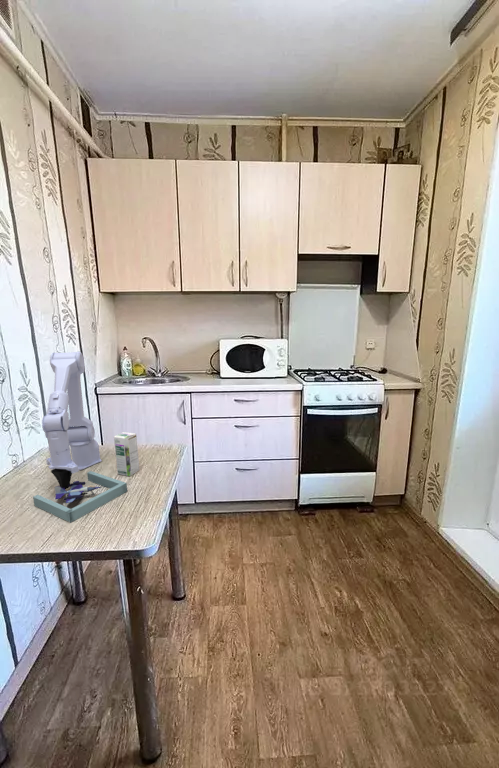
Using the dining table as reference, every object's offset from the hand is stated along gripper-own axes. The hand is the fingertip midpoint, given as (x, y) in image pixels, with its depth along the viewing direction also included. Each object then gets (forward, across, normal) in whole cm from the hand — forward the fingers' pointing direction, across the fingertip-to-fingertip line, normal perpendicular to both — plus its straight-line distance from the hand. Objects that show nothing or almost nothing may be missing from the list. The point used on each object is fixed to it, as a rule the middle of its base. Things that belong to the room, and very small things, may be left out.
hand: (65, 488), depth 119 cm
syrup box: (+1, +7, +20) cm, 21 cm away
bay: (+1, +8, 0) cm, 8 cm away
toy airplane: (+2, +8, 0) cm, 8 cm away
